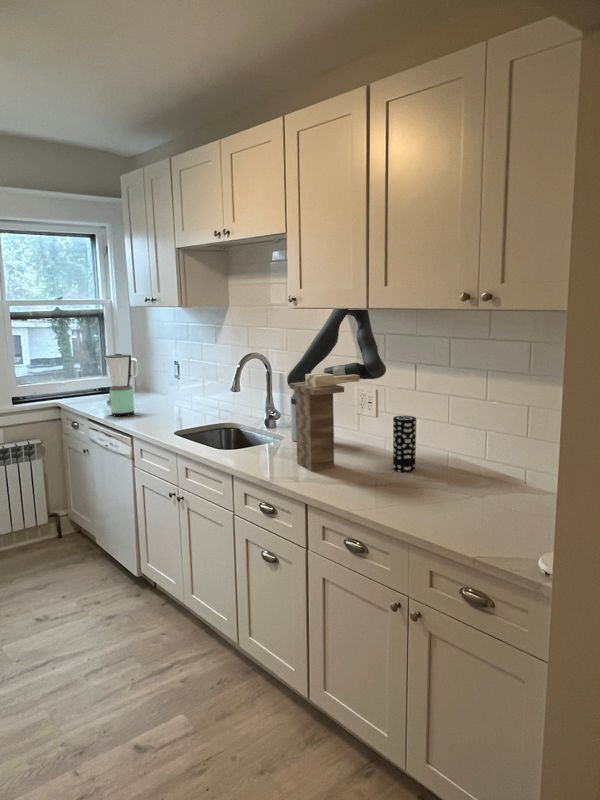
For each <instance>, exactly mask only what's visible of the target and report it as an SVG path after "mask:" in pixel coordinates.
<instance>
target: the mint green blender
mask: <svg viewBox="0 0 600 800" xmlns="http://www.w3.org/2000/svg"><path fill="white" fill-rule="evenodd" d="M103 358H104V359H105V362H106V365H107V367H108V371H109V376H110V380H111V386H110V388H109V397H108V398H107V399H106V404H107V406H109V408H110V413H111V415H112V416H113V415H117V416H127V415H130V416H131V414H133V413H135V401H134V400H135V398H134V389H133V387H132V386H131V385H130V381H131V379H134V378H136V377H137V376H138V375H139V362H138V360H137V358H135V357H132V355H131V354H121V353H115V354H112V355H111V354H110V355H104V356H103ZM132 362H134V365H135V366H134V367H135V369H134V370H135V373H134V374H132V373H131V372H132Z"/></svg>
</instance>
